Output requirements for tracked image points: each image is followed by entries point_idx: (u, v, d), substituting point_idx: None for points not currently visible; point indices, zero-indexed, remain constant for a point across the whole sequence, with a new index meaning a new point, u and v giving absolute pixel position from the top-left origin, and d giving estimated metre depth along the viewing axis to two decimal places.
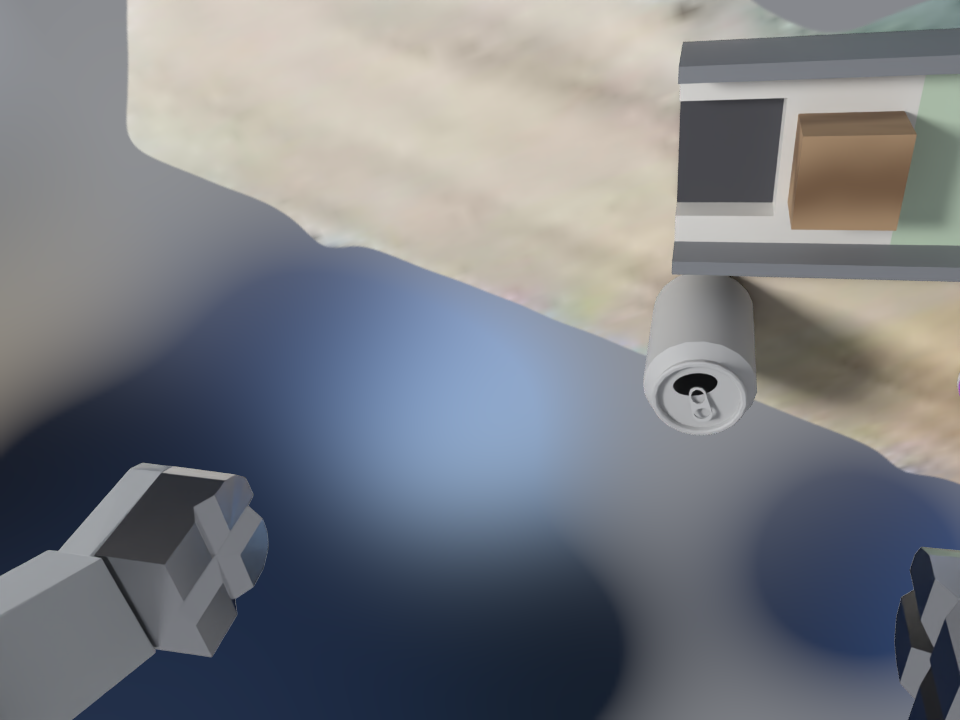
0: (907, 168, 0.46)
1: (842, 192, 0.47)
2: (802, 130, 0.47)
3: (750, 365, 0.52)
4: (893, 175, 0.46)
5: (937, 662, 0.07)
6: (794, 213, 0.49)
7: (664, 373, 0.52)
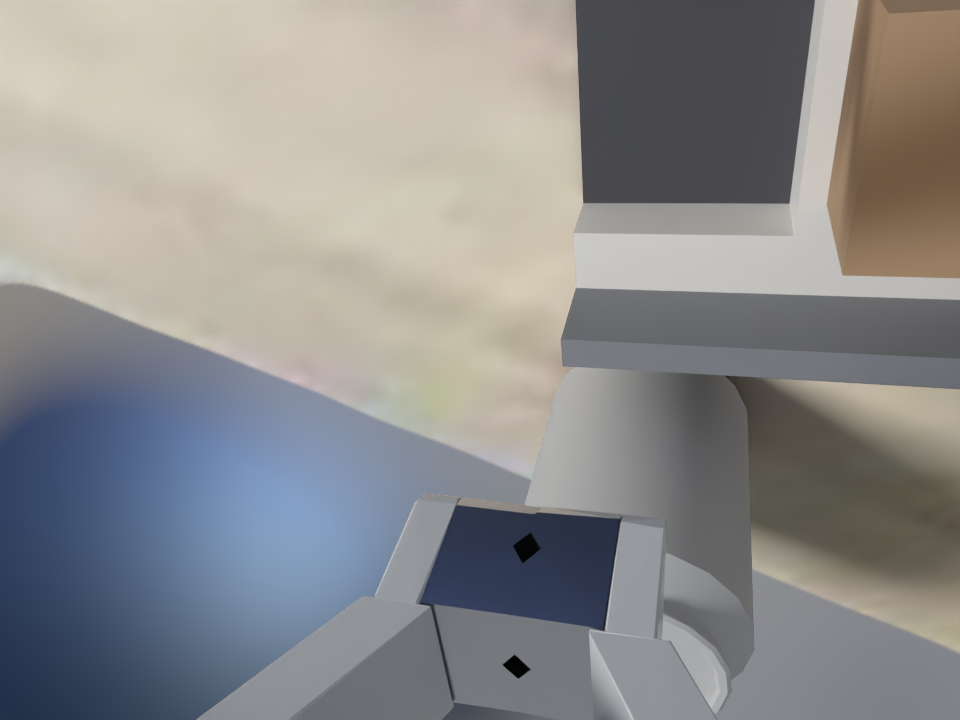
0: None
1: None
2: (882, 2, 0.17)
3: (738, 597, 0.21)
4: None
5: None
6: (853, 234, 0.18)
7: None
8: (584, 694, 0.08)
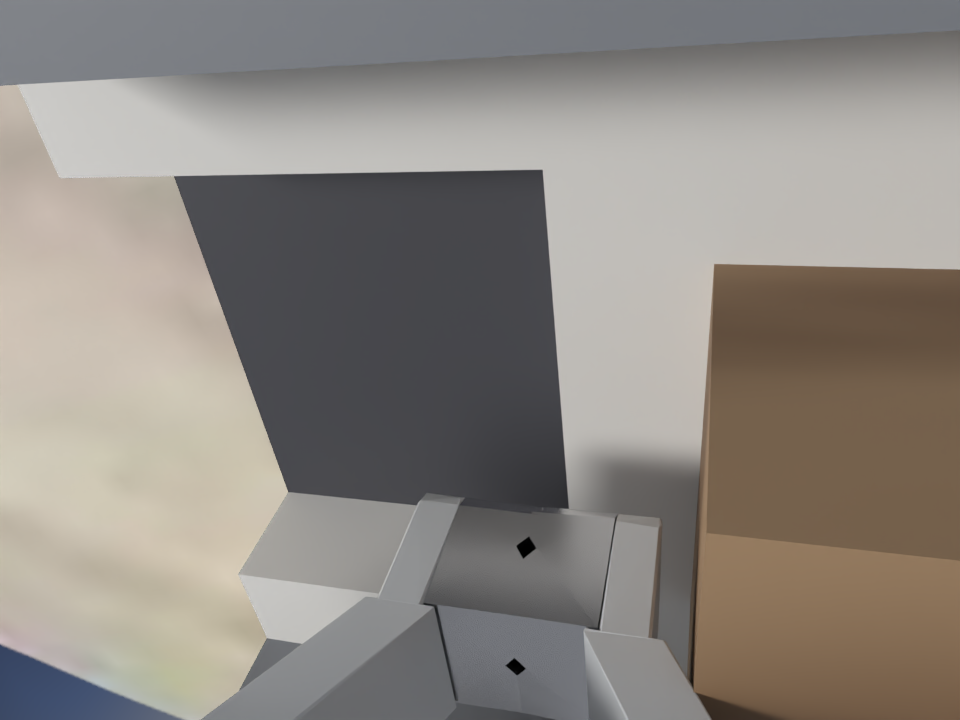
0: None
1: None
2: (714, 437, 0.07)
3: None
4: None
5: None
6: None
7: None
8: (579, 693, 0.08)
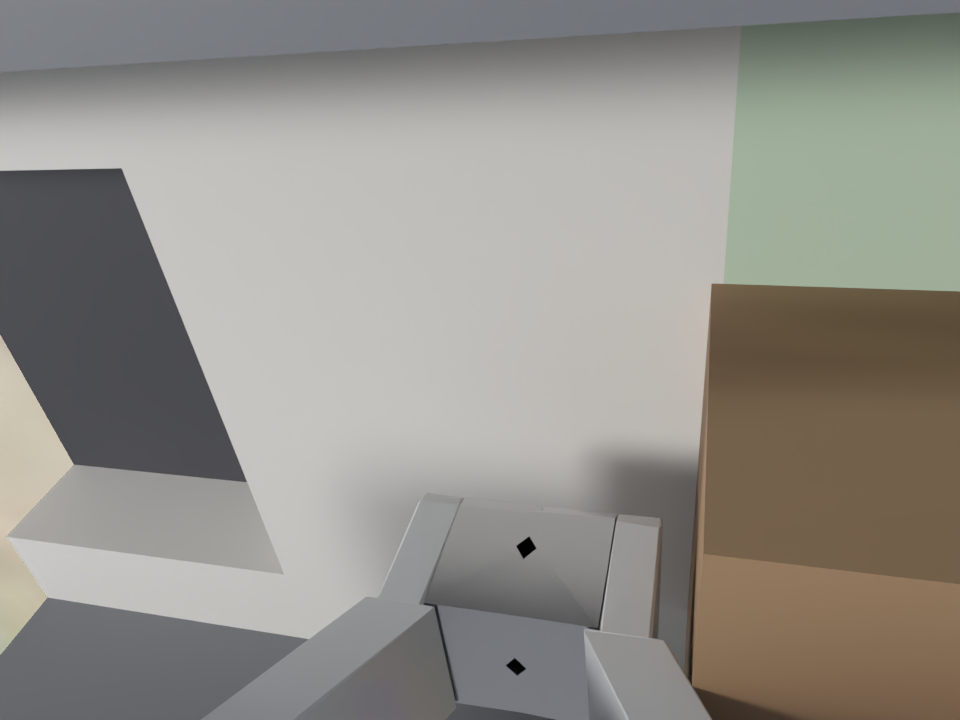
0: None
1: None
2: (711, 459, 0.07)
3: None
4: None
5: None
6: None
7: None
8: (579, 693, 0.08)
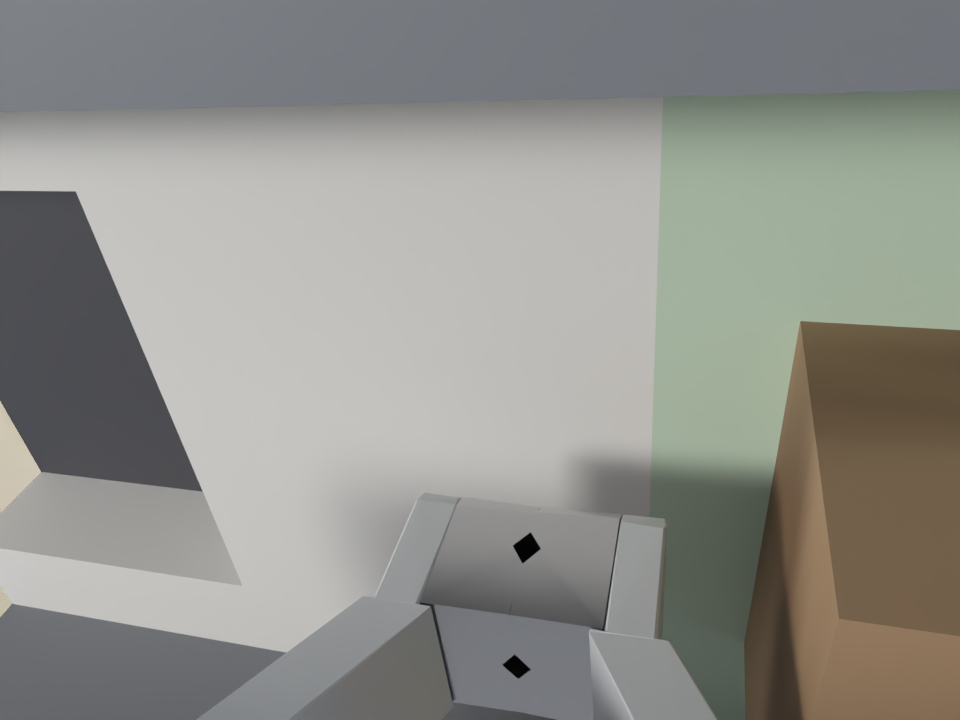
0: None
1: None
2: (829, 513, 0.07)
3: None
4: None
5: None
6: None
7: None
8: (584, 694, 0.08)
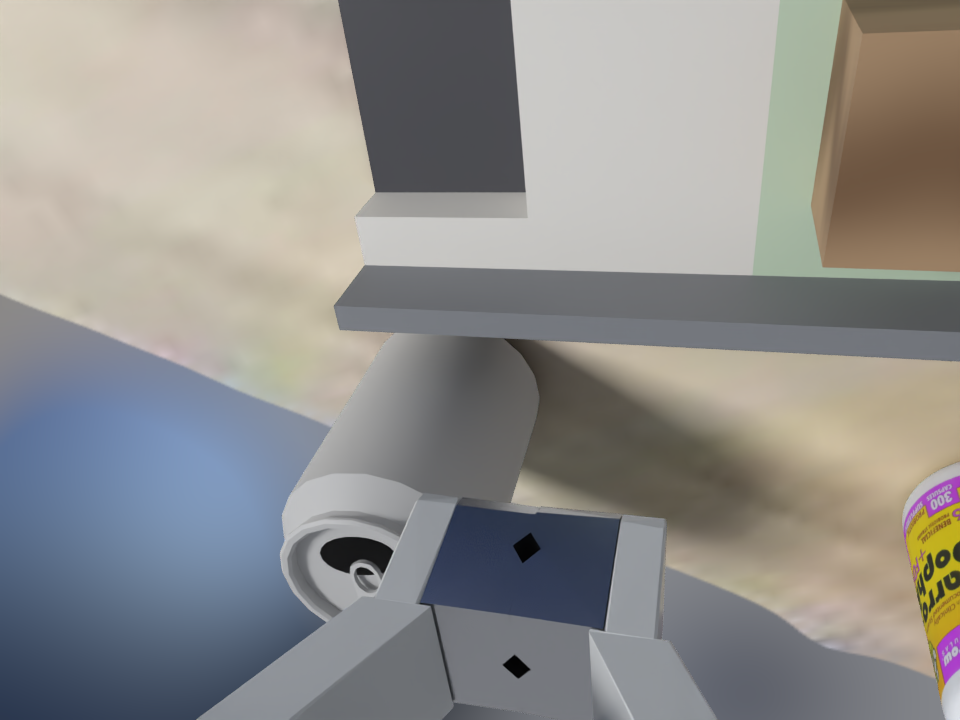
0: None
1: (952, 181, 0.19)
2: (858, 23, 0.19)
3: None
4: None
5: None
6: (832, 230, 0.21)
7: (290, 536, 0.25)
8: (584, 694, 0.08)
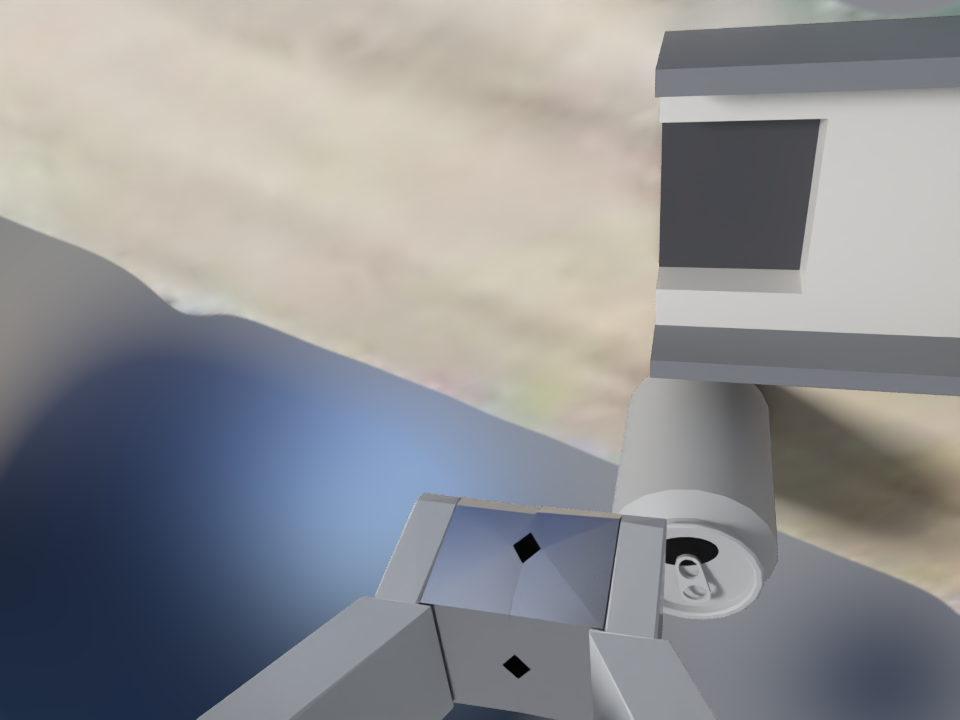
0: None
1: None
2: None
3: (768, 525, 0.34)
4: None
5: None
6: None
7: None
8: (584, 694, 0.08)
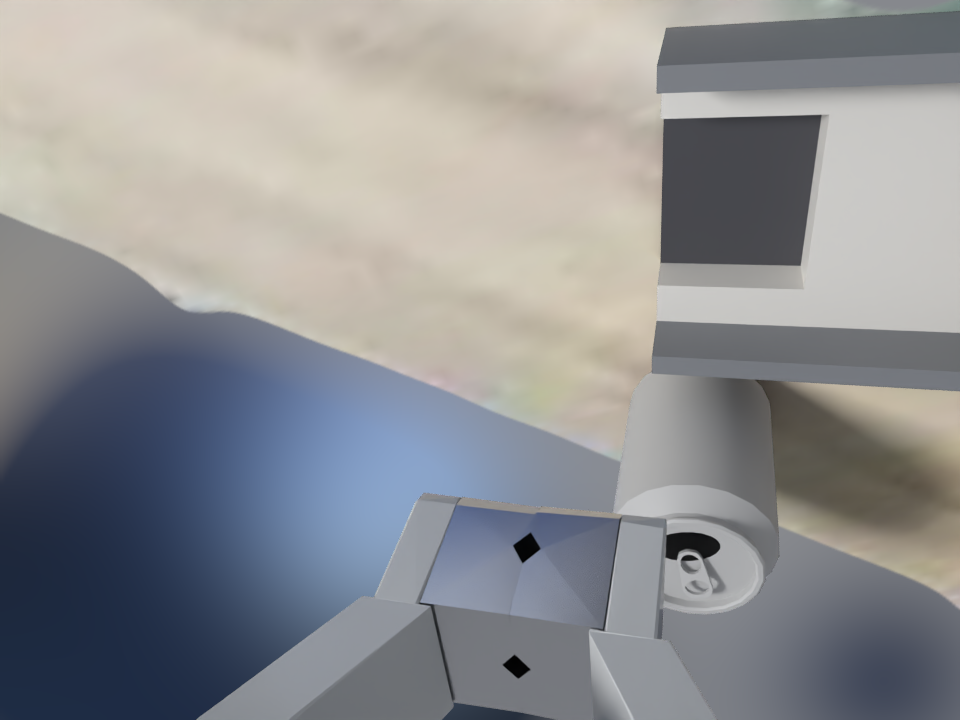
0: None
1: None
2: None
3: (770, 520, 0.34)
4: None
5: None
6: None
7: None
8: (584, 694, 0.08)
